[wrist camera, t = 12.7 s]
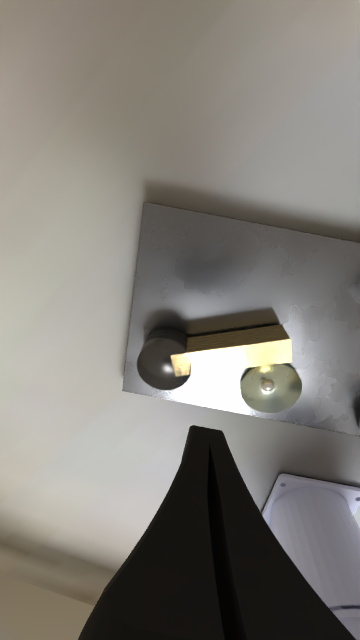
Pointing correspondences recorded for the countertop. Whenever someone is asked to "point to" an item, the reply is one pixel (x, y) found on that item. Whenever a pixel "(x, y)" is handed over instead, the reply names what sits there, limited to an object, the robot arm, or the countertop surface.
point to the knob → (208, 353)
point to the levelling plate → (252, 313)
